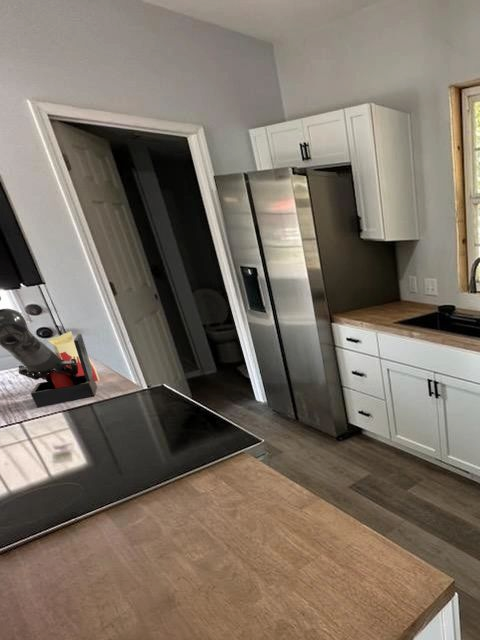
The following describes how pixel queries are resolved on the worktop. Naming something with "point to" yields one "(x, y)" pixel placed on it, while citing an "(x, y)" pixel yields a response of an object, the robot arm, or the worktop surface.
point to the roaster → (63, 392)
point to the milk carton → (69, 352)
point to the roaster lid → (83, 357)
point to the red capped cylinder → (60, 380)
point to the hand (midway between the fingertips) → (64, 379)
